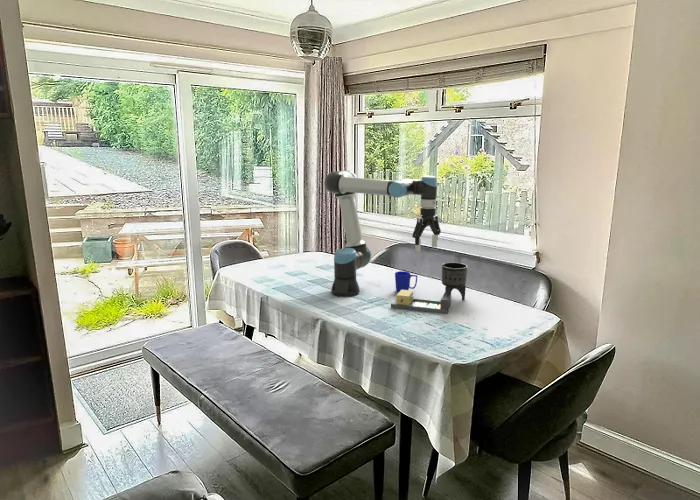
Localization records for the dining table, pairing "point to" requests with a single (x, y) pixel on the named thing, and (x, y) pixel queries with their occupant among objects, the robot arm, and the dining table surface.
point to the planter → (454, 277)
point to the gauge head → (405, 297)
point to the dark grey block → (446, 301)
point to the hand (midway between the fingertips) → (426, 249)
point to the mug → (403, 280)
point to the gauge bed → (422, 306)
